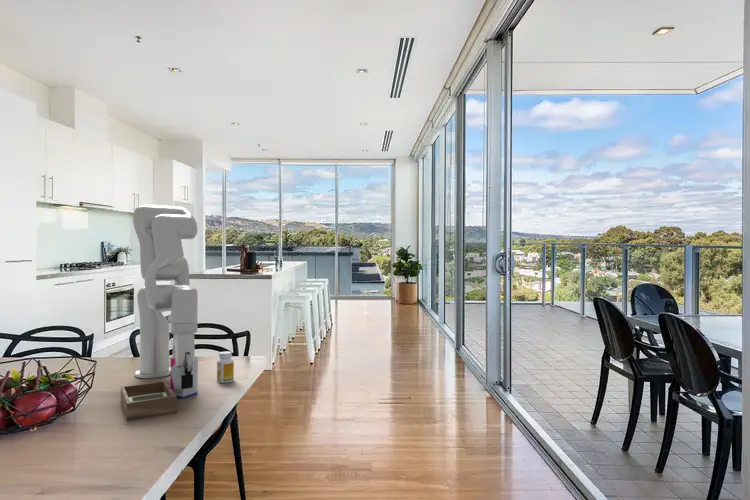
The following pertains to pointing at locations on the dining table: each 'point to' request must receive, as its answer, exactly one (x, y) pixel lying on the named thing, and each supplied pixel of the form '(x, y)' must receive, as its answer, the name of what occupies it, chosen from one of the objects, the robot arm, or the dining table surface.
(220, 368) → the supplement bottle
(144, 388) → the walnut box
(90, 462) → the dining table surface
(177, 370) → the supplement box
